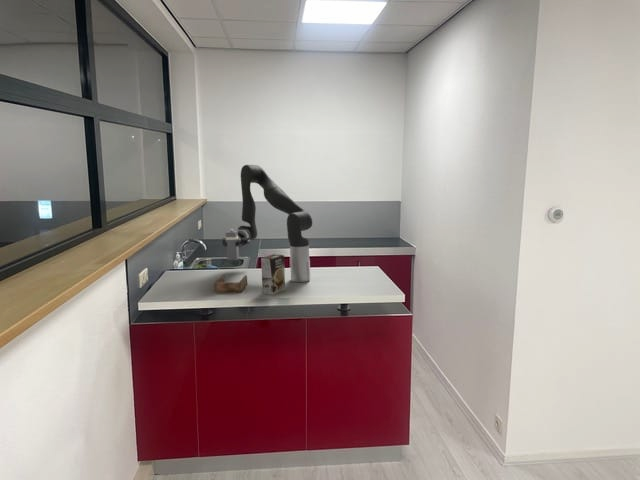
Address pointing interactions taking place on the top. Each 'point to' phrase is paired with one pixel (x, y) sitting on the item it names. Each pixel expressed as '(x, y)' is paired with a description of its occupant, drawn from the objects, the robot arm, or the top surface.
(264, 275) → the coffee box
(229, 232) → the connector plug
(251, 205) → the robot arm
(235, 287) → the caddy
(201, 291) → the top surface
